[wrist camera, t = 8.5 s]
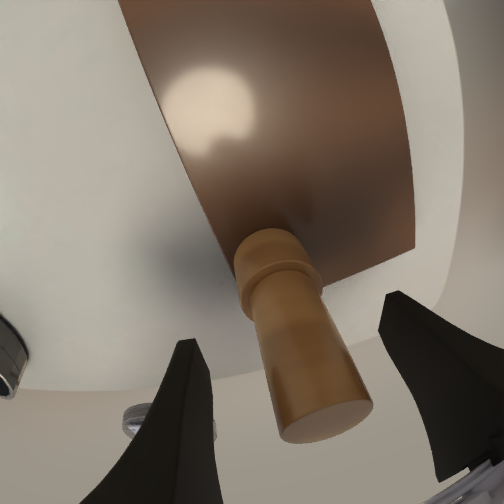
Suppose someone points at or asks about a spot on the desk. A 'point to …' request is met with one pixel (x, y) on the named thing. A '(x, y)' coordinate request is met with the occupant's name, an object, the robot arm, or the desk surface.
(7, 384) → the mortar
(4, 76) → the desk surface
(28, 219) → the desk surface
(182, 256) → the desk surface
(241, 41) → the walnut board
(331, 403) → the pestle
